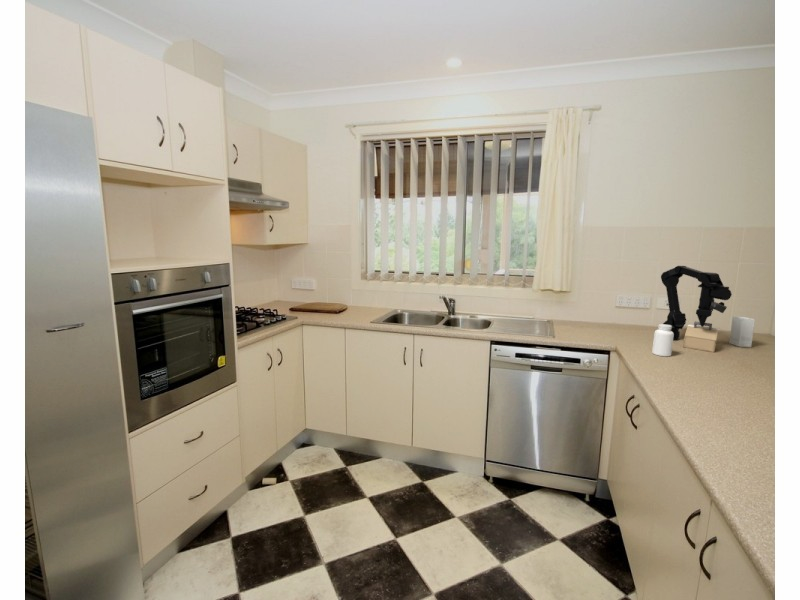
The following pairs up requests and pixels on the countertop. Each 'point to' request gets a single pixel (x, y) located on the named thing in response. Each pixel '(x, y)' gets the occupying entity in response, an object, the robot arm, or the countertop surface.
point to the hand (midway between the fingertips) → (702, 325)
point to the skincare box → (741, 331)
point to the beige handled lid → (702, 331)
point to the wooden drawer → (699, 344)
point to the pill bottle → (663, 340)
